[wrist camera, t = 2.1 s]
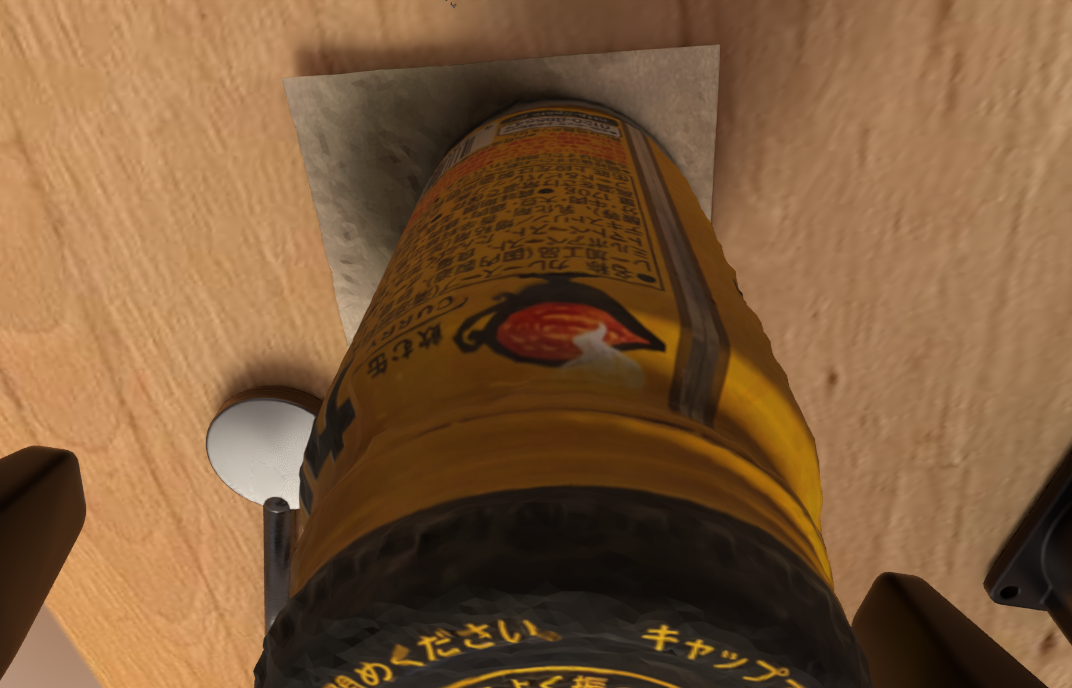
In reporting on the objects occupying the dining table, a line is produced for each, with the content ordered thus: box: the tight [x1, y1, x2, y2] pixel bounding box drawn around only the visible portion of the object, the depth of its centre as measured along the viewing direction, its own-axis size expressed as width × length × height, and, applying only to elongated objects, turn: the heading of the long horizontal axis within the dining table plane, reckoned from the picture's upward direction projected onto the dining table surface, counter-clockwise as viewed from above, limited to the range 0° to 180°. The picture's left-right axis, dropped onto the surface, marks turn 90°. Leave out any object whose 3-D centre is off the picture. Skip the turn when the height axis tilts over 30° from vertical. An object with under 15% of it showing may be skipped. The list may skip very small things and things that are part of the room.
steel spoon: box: [206, 386, 323, 636], centre depth 21 cm, size 14×4×1 cm, turn 170°
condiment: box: [253, 44, 874, 688], centre depth 11 cm, size 7×8×12 cm
